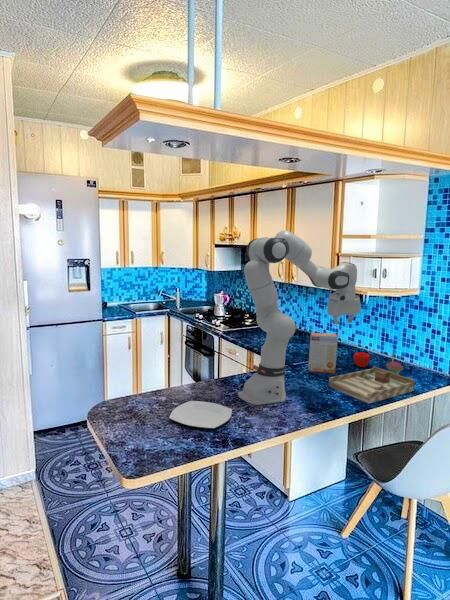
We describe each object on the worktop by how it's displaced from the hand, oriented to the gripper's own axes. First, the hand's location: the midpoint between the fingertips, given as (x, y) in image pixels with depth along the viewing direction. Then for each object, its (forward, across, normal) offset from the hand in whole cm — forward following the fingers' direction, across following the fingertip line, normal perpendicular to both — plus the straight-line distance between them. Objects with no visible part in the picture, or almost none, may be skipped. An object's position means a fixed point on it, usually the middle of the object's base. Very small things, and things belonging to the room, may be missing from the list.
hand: (343, 323), depth 207 cm
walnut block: (+28, -18, +12) cm, 36 cm away
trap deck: (+31, -10, +12) cm, 35 cm away
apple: (+31, -35, -14) cm, 49 cm away
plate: (+32, +80, +2) cm, 86 cm away
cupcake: (+31, -40, +4) cm, 51 cm away
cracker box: (+31, -7, -18) cm, 37 cm away
